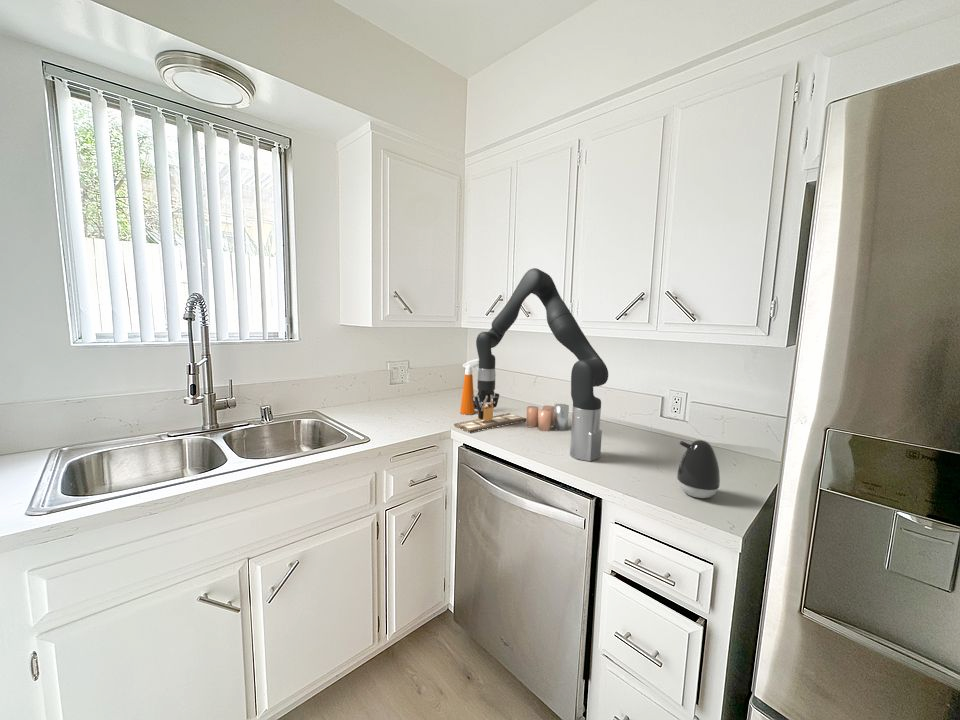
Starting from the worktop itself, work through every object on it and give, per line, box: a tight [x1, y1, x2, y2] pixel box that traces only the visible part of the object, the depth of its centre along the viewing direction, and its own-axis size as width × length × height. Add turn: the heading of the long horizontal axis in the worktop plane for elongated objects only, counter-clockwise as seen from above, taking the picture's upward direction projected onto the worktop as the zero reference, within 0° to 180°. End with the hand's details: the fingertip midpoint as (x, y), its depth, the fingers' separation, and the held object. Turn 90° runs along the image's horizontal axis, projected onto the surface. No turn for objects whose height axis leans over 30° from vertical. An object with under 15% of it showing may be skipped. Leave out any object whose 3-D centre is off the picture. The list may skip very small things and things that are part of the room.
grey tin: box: [553, 403, 570, 431], centre depth 166 cm, size 6×6×10 cm
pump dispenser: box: [676, 439, 721, 499], centre depth 106 cm, size 10×10×15 cm
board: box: [453, 412, 526, 433], centre depth 170 cm, size 11×32×1 cm, turn 130°
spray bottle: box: [459, 358, 479, 416], centre depth 186 cm, size 7×11×26 cm, turn 89°
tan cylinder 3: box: [537, 408, 551, 432], centre depth 164 cm, size 5×5×8 cm
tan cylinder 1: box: [525, 405, 540, 428], centre depth 169 cm, size 5×5×8 cm
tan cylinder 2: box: [542, 404, 554, 427], centre depth 171 cm, size 5×5×8 cm
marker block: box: [477, 405, 494, 421], centre depth 167 cm, size 4×4×5 cm
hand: (485, 418), depth 167 cm, fingers closed on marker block, 4 cm apart
